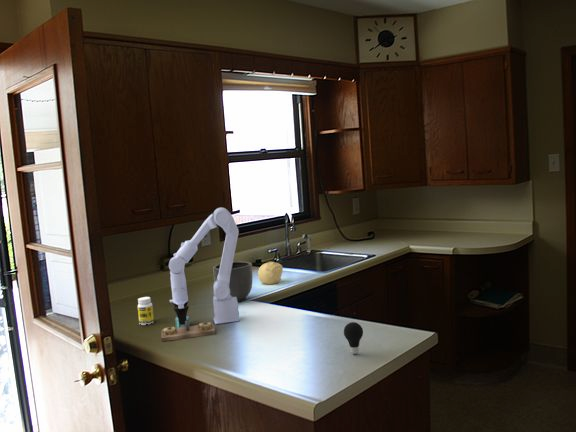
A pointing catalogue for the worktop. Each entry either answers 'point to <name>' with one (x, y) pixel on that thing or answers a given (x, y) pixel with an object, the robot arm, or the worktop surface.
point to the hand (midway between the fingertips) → (182, 322)
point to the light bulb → (353, 336)
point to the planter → (238, 279)
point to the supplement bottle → (145, 311)
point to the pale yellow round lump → (270, 273)
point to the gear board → (187, 331)
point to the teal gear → (179, 323)
